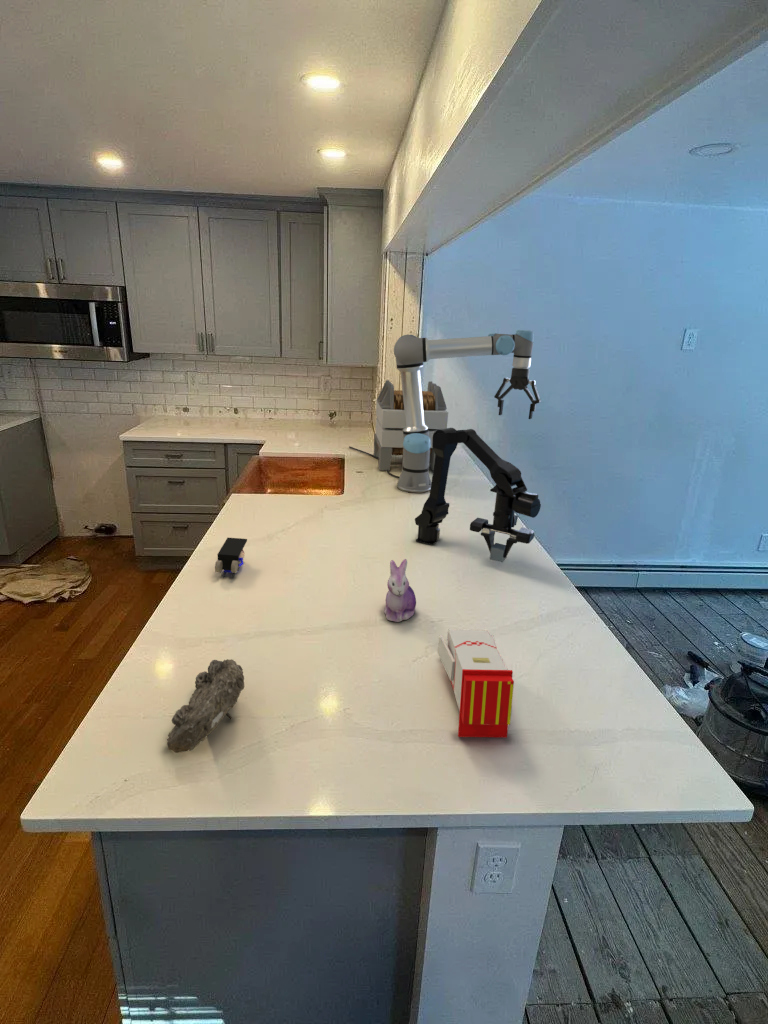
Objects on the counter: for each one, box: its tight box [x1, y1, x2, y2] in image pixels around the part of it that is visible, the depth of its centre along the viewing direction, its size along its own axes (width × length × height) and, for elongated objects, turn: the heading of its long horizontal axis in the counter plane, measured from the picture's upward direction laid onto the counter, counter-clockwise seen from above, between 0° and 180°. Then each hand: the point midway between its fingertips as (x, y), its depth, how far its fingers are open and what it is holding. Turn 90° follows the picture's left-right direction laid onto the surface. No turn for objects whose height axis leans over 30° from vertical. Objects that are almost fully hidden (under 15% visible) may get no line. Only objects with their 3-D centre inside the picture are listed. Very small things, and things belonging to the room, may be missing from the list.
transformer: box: [372, 379, 449, 472], centre depth 285 cm, size 34×33×41 cm
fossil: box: [166, 658, 245, 754], centre depth 106 cm, size 22×10×15 cm
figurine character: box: [214, 537, 248, 578], centre depth 166 cm, size 7×8×15 cm
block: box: [489, 542, 508, 563], centre depth 175 cm, size 4×4×4 cm
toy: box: [437, 628, 515, 738], centre depth 117 cm, size 12×13×30 cm
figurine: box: [384, 558, 417, 623], centre depth 145 cm, size 9×10×15 cm
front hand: (498, 555), depth 176 cm, fingers closed on block, 4 cm apart
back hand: (515, 416), depth 251 cm, fingers open, 13 cm apart
